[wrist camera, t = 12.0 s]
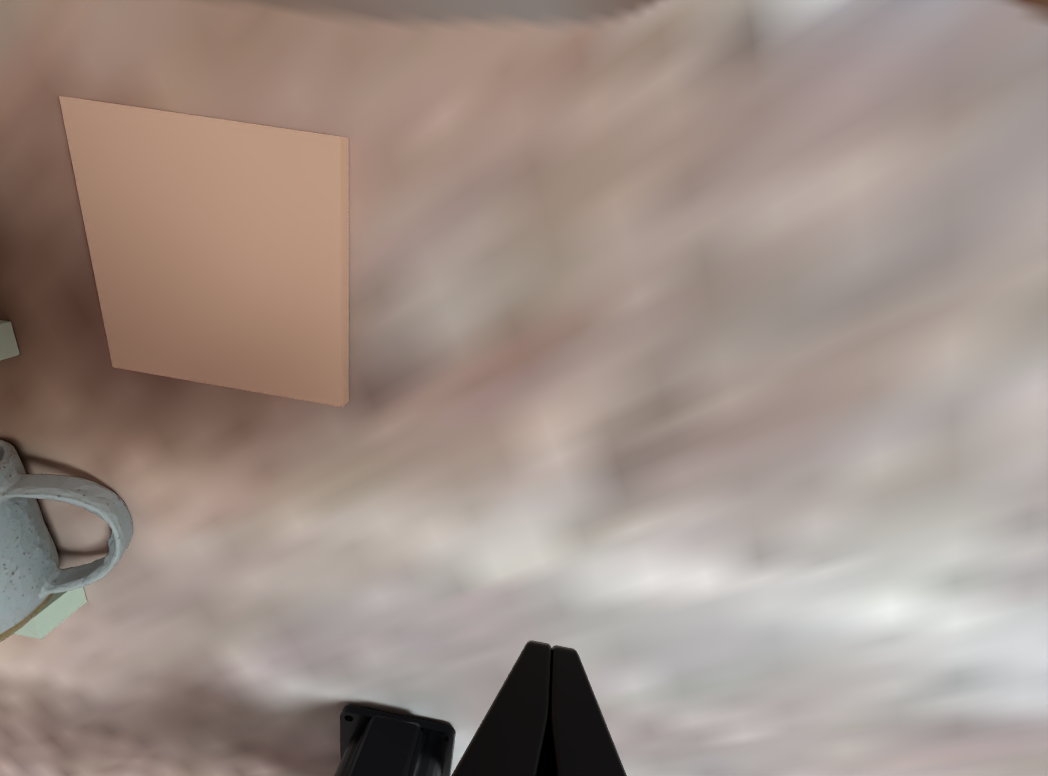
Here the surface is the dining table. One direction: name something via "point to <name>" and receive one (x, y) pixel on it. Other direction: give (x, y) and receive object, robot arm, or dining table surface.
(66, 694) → the dining table surface
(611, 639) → the dining table surface
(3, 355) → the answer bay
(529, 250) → the dining table surface
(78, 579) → the ceramic mug
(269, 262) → the terracotta tile
